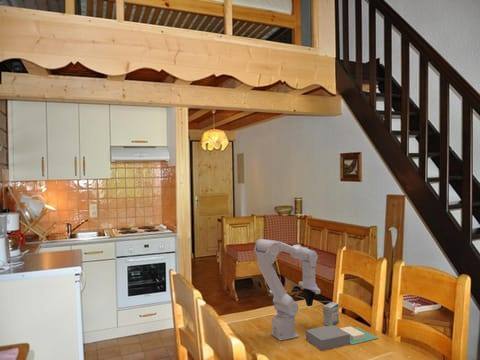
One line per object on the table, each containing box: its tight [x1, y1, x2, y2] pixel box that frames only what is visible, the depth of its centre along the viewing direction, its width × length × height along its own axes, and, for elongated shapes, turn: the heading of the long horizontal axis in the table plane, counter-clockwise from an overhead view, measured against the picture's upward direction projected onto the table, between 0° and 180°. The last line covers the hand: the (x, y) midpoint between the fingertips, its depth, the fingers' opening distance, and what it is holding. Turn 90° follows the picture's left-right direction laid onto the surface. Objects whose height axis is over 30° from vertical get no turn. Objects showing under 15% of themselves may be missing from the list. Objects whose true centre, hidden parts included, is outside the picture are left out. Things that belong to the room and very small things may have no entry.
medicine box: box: [322, 301, 340, 326], centre depth 172 cm, size 8×4×9 cm, turn 143°
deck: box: [305, 325, 351, 352], centre depth 152 cm, size 14×11×4 cm
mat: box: [349, 326, 379, 346], centre depth 158 cm, size 14×13×1 cm
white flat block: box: [339, 325, 365, 341], centre depth 157 cm, size 6×9×2 cm, turn 23°
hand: (309, 305), depth 168 cm, fingers closed
